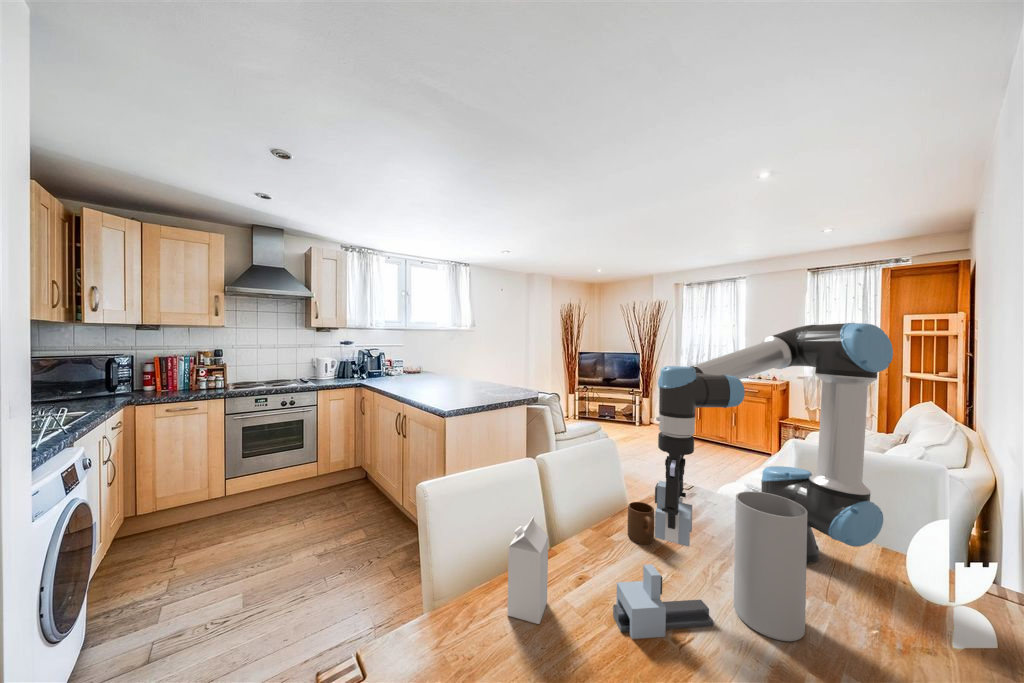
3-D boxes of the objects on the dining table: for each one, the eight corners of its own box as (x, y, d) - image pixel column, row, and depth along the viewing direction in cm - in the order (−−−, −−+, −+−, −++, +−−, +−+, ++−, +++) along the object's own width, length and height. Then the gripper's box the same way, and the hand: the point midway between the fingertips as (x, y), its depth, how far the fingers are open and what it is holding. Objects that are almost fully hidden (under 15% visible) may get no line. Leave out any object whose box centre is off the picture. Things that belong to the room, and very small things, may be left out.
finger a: (648, 607, 81) (649, 558, 81) (667, 636, 73) (668, 582, 73) (616, 609, 81) (617, 559, 81) (631, 639, 73) (632, 583, 73)
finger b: (691, 530, 86) (692, 483, 86) (689, 546, 79) (690, 496, 79) (657, 521, 89) (658, 477, 89) (652, 536, 83) (653, 488, 82)
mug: (665, 554, 102) (666, 520, 102) (638, 554, 102) (639, 520, 102) (647, 531, 114) (648, 501, 114) (623, 531, 114) (624, 501, 114)
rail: (700, 611, 80) (701, 599, 80) (713, 626, 76) (713, 613, 76) (613, 616, 78) (613, 604, 78) (620, 632, 74) (621, 619, 74)
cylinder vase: (811, 653, 70) (813, 523, 70) (734, 627, 76) (737, 507, 76) (798, 611, 81) (800, 499, 81) (732, 592, 87) (734, 487, 87)
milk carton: (547, 602, 82) (548, 518, 82) (539, 625, 76) (540, 534, 76) (517, 594, 85) (518, 513, 85) (507, 616, 78) (508, 527, 78)
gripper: (664, 423, 95) (662, 510, 95) (651, 441, 77) (648, 549, 77) (696, 426, 91) (694, 517, 91) (691, 447, 73) (688, 560, 73)
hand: (673, 532), depth 84 cm, fingers closed on finger b, 8 cm apart
